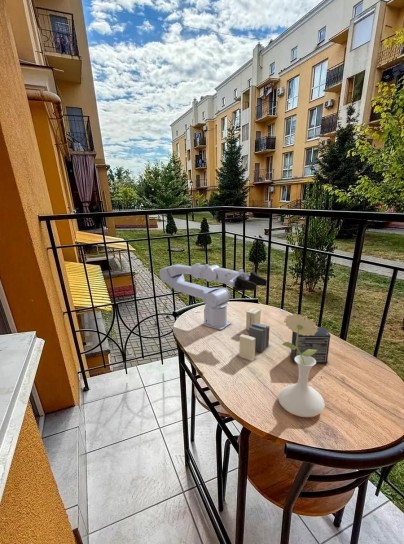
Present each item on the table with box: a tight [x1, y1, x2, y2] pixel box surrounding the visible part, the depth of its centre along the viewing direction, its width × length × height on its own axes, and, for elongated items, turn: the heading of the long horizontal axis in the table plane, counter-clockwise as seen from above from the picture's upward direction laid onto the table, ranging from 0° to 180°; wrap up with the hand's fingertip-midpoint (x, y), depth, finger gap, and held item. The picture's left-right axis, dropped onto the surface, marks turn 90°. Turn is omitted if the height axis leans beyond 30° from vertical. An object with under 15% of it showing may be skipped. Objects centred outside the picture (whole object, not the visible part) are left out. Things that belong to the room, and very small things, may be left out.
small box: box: [290, 326, 331, 365], centre depth 92 cm, size 11×6×10 cm, turn 84°
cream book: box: [238, 333, 256, 362], centre depth 94 cm, size 5×2×8 cm, turn 52°
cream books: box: [245, 307, 262, 331], centre depth 115 cm, size 4×5×8 cm
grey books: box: [248, 323, 270, 353], centre depth 100 cm, size 5×6×9 cm
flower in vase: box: [277, 313, 326, 418], centre depth 69 cm, size 13×11×25 cm
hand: (261, 285), depth 101 cm, fingers open, 7 cm apart
